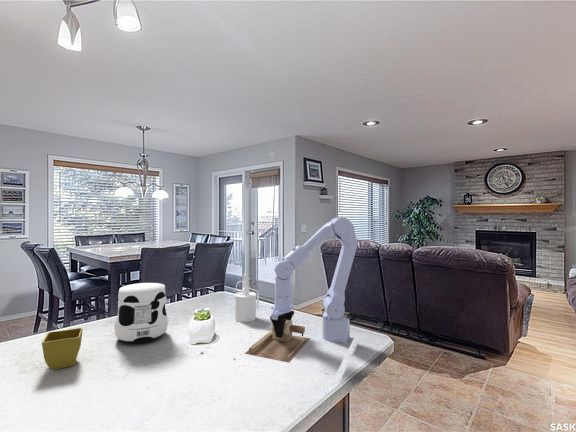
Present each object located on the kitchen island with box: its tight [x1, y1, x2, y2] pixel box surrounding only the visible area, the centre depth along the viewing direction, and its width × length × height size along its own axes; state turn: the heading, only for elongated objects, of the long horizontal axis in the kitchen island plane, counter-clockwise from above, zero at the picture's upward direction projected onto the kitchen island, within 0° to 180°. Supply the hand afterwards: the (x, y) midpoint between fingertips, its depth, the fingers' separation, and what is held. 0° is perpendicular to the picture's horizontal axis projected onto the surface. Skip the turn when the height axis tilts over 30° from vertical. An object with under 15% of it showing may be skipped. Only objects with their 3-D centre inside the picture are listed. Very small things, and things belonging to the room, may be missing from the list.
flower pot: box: [41, 327, 84, 371], centre depth 93 cm, size 9×9×9 cm
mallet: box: [271, 319, 306, 342], centre depth 110 cm, size 11×4×6 cm, turn 68°
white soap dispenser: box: [233, 273, 260, 324], centre depth 132 cm, size 10×9×20 cm
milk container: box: [114, 282, 169, 344], centre depth 114 cm, size 17×17×18 cm
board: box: [244, 329, 311, 363], centre depth 105 cm, size 15×20×3 cm
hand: (282, 334), depth 111 cm, fingers open, 5 cm apart
